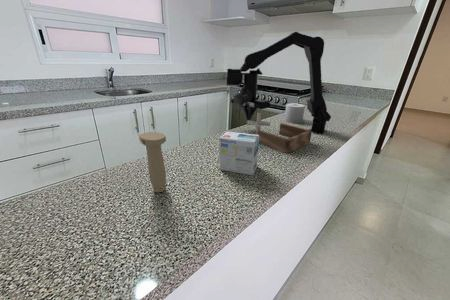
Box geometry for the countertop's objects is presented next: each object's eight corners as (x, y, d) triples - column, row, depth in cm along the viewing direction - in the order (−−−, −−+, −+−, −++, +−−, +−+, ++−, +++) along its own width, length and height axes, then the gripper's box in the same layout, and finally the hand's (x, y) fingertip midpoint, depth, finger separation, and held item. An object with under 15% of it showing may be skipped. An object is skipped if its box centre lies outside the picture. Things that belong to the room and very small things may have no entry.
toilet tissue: (295, 116, 124) (297, 101, 120) (305, 123, 112) (307, 107, 108) (280, 116, 123) (282, 102, 120) (288, 123, 111) (290, 107, 108)
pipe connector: (268, 138, 90) (271, 115, 86) (245, 136, 92) (246, 114, 88) (269, 131, 99) (271, 110, 95) (247, 129, 101) (248, 108, 97)
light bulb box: (257, 166, 68) (260, 134, 63) (253, 176, 62) (255, 142, 57) (226, 160, 71) (226, 130, 66) (219, 170, 65) (218, 137, 61)
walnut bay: (280, 133, 96) (281, 123, 94) (309, 142, 86) (311, 130, 84) (256, 142, 86) (257, 130, 84) (286, 153, 76) (288, 140, 74)
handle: (160, 199, 52) (152, 141, 46) (144, 190, 55) (134, 135, 49) (175, 189, 55) (169, 135, 49) (159, 182, 59) (151, 130, 53)
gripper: (222, 85, 93) (222, 119, 99) (254, 89, 80) (252, 129, 86) (240, 83, 100) (239, 115, 106) (272, 87, 87) (269, 123, 93)
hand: (248, 120), depth 98 cm, fingers closed
